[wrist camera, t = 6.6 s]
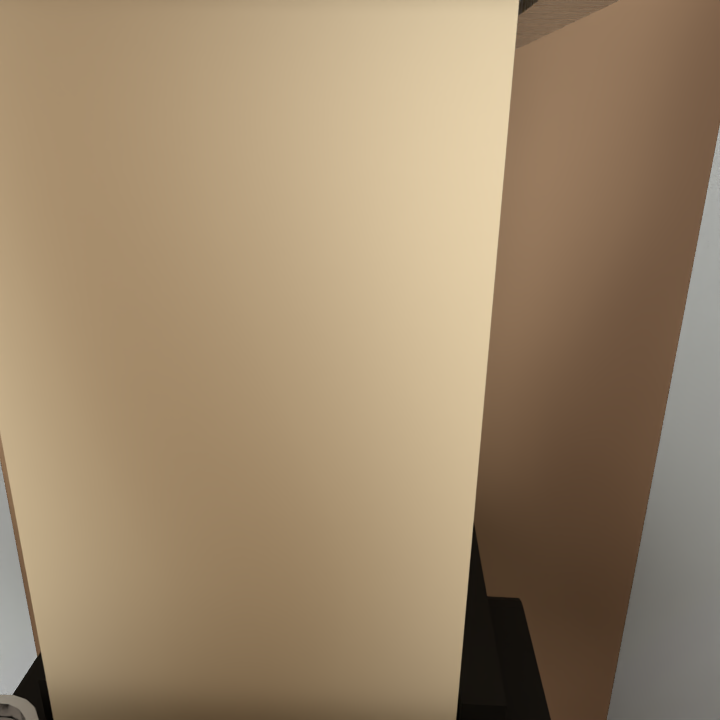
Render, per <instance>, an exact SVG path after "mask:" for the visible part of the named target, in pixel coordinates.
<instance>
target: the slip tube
mask: <svg viewBox="0 0 720 720" xmlns="http://www.w3.org/2000/svg"><path fill="white" fill-rule="evenodd" d="M518 8H519V0H0V434H1V440H2V445H3V450H4V456H5V461H6V467H7V472H8V477H9V483H10V488H11V493H12V499H13V504H14V510H15V515H16V520H17V526H18V531H19V536H20V542H21V547H22V553H23V558H24V563H25V569H26V574H27V579H28V585H29V590H30V595H31V601H32V606H33V612H34V617H35V622H36V628H37V633H38V638H39V644H40V649H41V655H42V660H43V665H44V671H45V676H46V681H47V687H48V692H49V698H50V703H51V708H52V714H53V719H54V720H456V715H457V704H458V693H459V681H460V670H461V658H462V647H463V635H464V624H465V613H466V601H467V590H468V578H469V567H470V556H471V544H472V533H473V521H474V510H475V499H476V487H477V476H478V464H479V453H480V442H481V430H482V419H483V407H484V396H485V385H486V373H487V362H488V350H489V339H490V327H491V316H492V305H493V293H494V282H495V270H496V259H497V248H498V236H499V225H500V213H501V202H502V191H503V179H504V168H505V156H506V145H507V134H508V122H509V111H510V99H511V88H512V77H513V65H514V54H515V42H516V31H517V20H518Z"/></svg>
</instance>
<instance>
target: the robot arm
mask: <svg viewBox="0 0 720 720" xmlns="http://www.w3.org/2000/svg"><path fill="white" fill-rule="evenodd" d="M0 720H54V719H53V714H52V708H51V703H50V698H49V692H48V687H47V681H46V676H45V671H44V665H43V660H42V655H41V652H40V654H39V655H38V657H37V658H36V660H35V661H34V663H33V664H32V666H31V667H30V669H29V670H28V672H27V673H26V675H25V677H24V678H23V680H22V681H21V683H20V684H19V686H18V687H17V689H16V690H15V692H14V693H13V695H0ZM456 720H551V718H550V714H549V710H548V705H547V701H546V697H545V693H544V689H543V685H542V681H541V677H540V673H539V669H538V665H537V661H536V657H535V653H534V649H533V645H532V640H531V636H530V632H529V628H528V624H527V620H526V616H525V612H524V608H523V605H522V602H521V600H520V599H519V598H511V597H491V596H487V593H486V587H485V581H484V576H483V570H482V564H481V559H480V553H479V548H478V542H477V536H476V531H475V525H474V521H473V533H472V544H471V556H470V567H469V578H468V590H467V601H466V613H465V624H464V635H463V647H462V658H461V670H460V681H459V693H458V704H457V715H456Z"/></svg>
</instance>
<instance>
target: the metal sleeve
mask: <svg viewBox="0 0 720 720" xmlns="http://www.w3.org/2000/svg"><path fill="white" fill-rule="evenodd" d="M617 1H619V0H519V8H518V20H517V31H516V42H515V50H516V49H518V48H520V47H522V46H524V45H527V44H529V43H531V42H533V41H535V40H537V39H539V38H541V37H543V36H546V35H548V34H550V33H552V32H554V31H556V30H558V29H560V28H562V27H564V26H567V25H569V24H571V23H573V22H575V21H577V20H579V19H581V18H583V17H586V16H588V15H590V14H592V13H594V12H596V11H598V10H600V9H602V8H605V7H607V6H609V5H611V4H613V3H615V2H617Z"/></svg>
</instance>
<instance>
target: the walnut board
mask: <svg viewBox="0 0 720 720" xmlns="http://www.w3.org/2000/svg"><path fill="white" fill-rule="evenodd" d="M719 125H720V0H619V1H617V2H615V3H613V4H611V5H609V6H607V7H605V8H602V9H600V10H598V11H596V12H594V13H592V14H590V15H588V16H586V17H583V18H581V19H579V20H577V21H575V22H573V23H571V24H569V25H567V26H564V27H562V28H560V29H558V30H556V31H554V32H552V33H550V34H548V35H546V36H543V37H541V38H539V39H537V40H535V41H533V42H531V43H529V44H527V45H524V46H522V47H520V48H518V49H516V50H515V54H514V65H513V77H512V88H511V99H510V111H509V122H508V134H507V145H506V156H505V168H504V179H503V191H502V202H501V213H500V225H499V236H498V248H497V259H496V270H495V282H494V293H493V305H492V316H491V327H490V339H489V350H488V362H487V373H486V385H485V396H484V407H483V419H482V430H481V442H480V453H479V464H478V476H477V487H476V499H475V510H474V525H475V531H476V536H477V542H478V548H479V553H480V559H481V564H482V570H483V576H484V581H485V587H486V593H487V596H491V597H511V598H519V599H520V600H521V602H522V605H523V608H524V612H525V616H526V620H527V624H528V628H529V632H530V636H531V640H532V645H533V649H534V653H535V657H536V661H537V665H538V669H539V673H540V677H541V681H542V685H543V689H544V693H545V697H546V701H547V705H548V710H549V714H550V718H551V720H607V715H608V709H609V704H610V699H611V694H612V688H613V683H614V678H615V672H616V667H617V662H618V657H619V651H620V646H621V641H622V636H623V630H624V625H625V620H626V615H627V609H628V604H629V599H630V594H631V588H632V583H633V578H634V572H635V567H636V562H637V557H638V551H639V546H640V541H641V536H642V530H643V525H644V520H645V515H646V509H647V504H648V499H649V494H650V488H651V483H652V478H653V472H654V467H655V462H656V457H657V451H658V446H659V441H660V436H661V430H662V425H663V420H664V415H665V409H666V404H667V399H668V394H669V388H670V383H671V378H672V372H673V367H674V362H675V357H676V351H677V346H678V341H679V336H680V330H681V325H682V320H683V315H684V309H685V304H686V299H687V294H688V288H689V283H690V278H691V272H692V267H693V262H694V257H695V251H696V246H697V241H698V236H699V230H700V225H701V220H702V215H703V209H704V204H705V199H706V194H707V188H708V183H709V178H710V173H711V167H712V162H713V157H714V151H715V146H716V141H717V136H718V130H719ZM0 461H1V466H2V472H3V477H4V482H5V488H6V493H7V498H8V503H9V509H10V514H11V519H12V525H13V530H14V535H15V540H16V546H17V551H18V556H19V562H20V567H21V572H22V577H23V583H24V588H25V593H26V599H27V604H28V609H29V615H30V620H31V625H32V630H33V636H34V641H35V646H36V652H37V657H38V655H39V654H40V652H41V649H40V644H39V638H38V633H37V628H36V622H35V617H34V612H33V606H32V601H31V595H30V590H29V585H28V579H27V574H26V569H25V563H24V558H23V553H22V547H21V542H20V536H19V531H18V526H17V520H16V515H15V510H14V504H13V499H12V493H11V488H10V483H9V477H8V472H7V467H6V461H5V456H4V450H3V445H2V440H1V434H0Z"/></svg>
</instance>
